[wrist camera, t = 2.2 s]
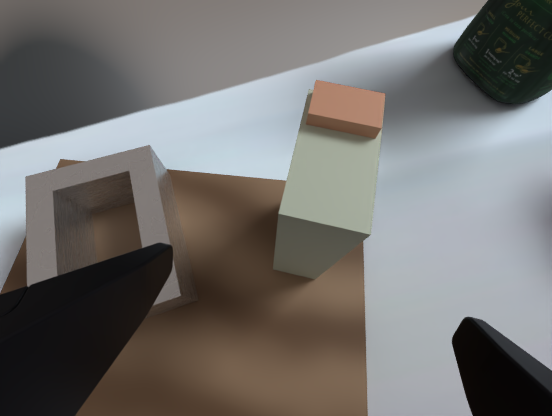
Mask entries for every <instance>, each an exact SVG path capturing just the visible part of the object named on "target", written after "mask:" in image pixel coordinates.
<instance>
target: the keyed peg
mask: <svg viewBox="0 0 552 416" xmlns="http://www.w3.org/2000/svg"><path fill="white" fill-rule="evenodd" d="M384 103H385V93H380V92H375V91H370V90H365V89H360V88H355V87H350V86H344V85H339V84H334V83H329V82H324V81H319V80H316V82H315V86H314V90H310V89H309V91H308V95H307V99H306V103H305V108H304V112H303V116H302V120H301V124H300V128H299V132H298V136H297V140H296V144H295V148H294V152H293V156H292V161H291V165H290V169H289V173H288V177H287V181H286V185H285V189H284V193H283V197H282V201H281V205H280V209H279V214H278V223H277V233H276V243H275V253H274V263H273V269H274V270H278V271H282V272H286V273H291V274H295V275H299V276H303V277H307V278H311V279H316V278H318V277H319V276H320V275H321V274H323V273H324V272H325V271H326V270H328V269H329V268H330V267H331V266H333V265H334V264H335V263H336V262H337V261H339V260H340V259H341V258H342V257H344V256H345V255H346V254H347V253H349V252H350V251H351V250H352V249H354V248H355V247H356V246H357V245H359V244H360V243H361V242H362V241H364V240H365V239H366V238H367V237H368V236H370V235H371V228H372V219H373V209H374V200H375V190H376V181H377V172H378V162H379V153H380V143H381V134H382V125H383V115H384V106H385V104H384Z"/></svg>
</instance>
